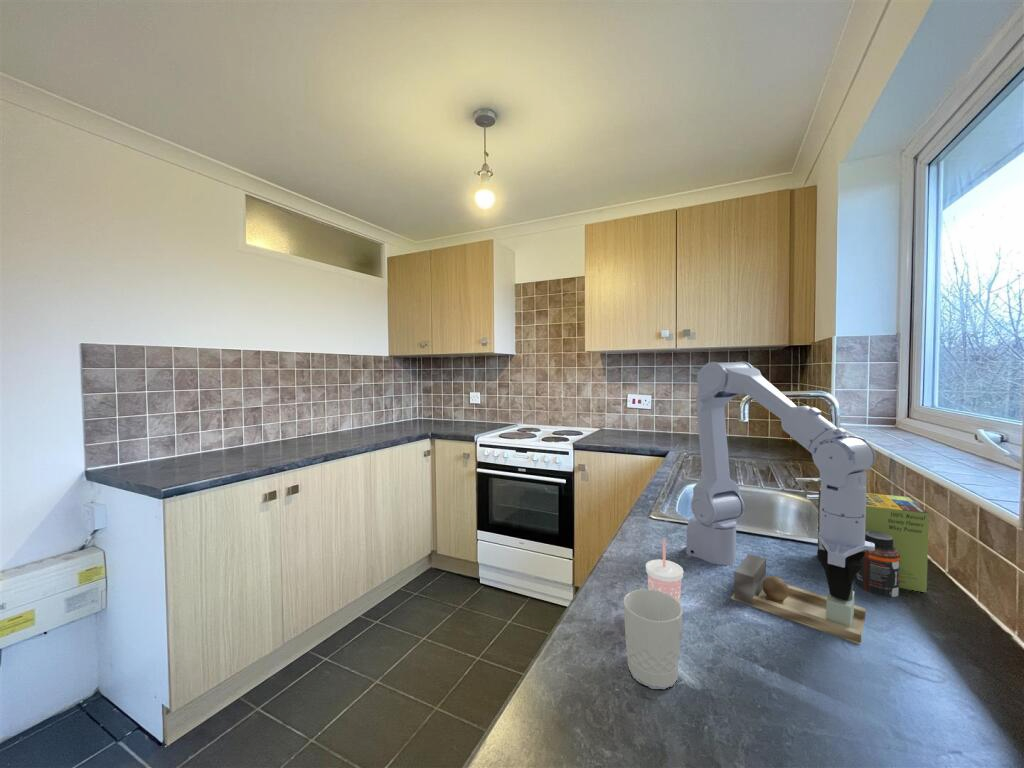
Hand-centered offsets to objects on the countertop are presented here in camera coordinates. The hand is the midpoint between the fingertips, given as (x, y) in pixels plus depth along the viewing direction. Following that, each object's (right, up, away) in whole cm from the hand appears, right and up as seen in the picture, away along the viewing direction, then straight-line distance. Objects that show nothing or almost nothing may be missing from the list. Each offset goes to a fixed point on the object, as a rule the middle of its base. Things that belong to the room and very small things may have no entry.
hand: (840, 593), depth 67 cm
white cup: (-34, -7, -8) cm, 36 cm away
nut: (-6, -5, +7) cm, 10 cm away
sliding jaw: (0, -4, 0) cm, 4 cm away
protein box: (+20, -5, +18) cm, 27 cm away
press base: (-4, -6, +5) cm, 8 cm away
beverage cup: (-28, -7, +4) cm, 29 cm away
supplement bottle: (+15, -5, +10) cm, 18 cm away
